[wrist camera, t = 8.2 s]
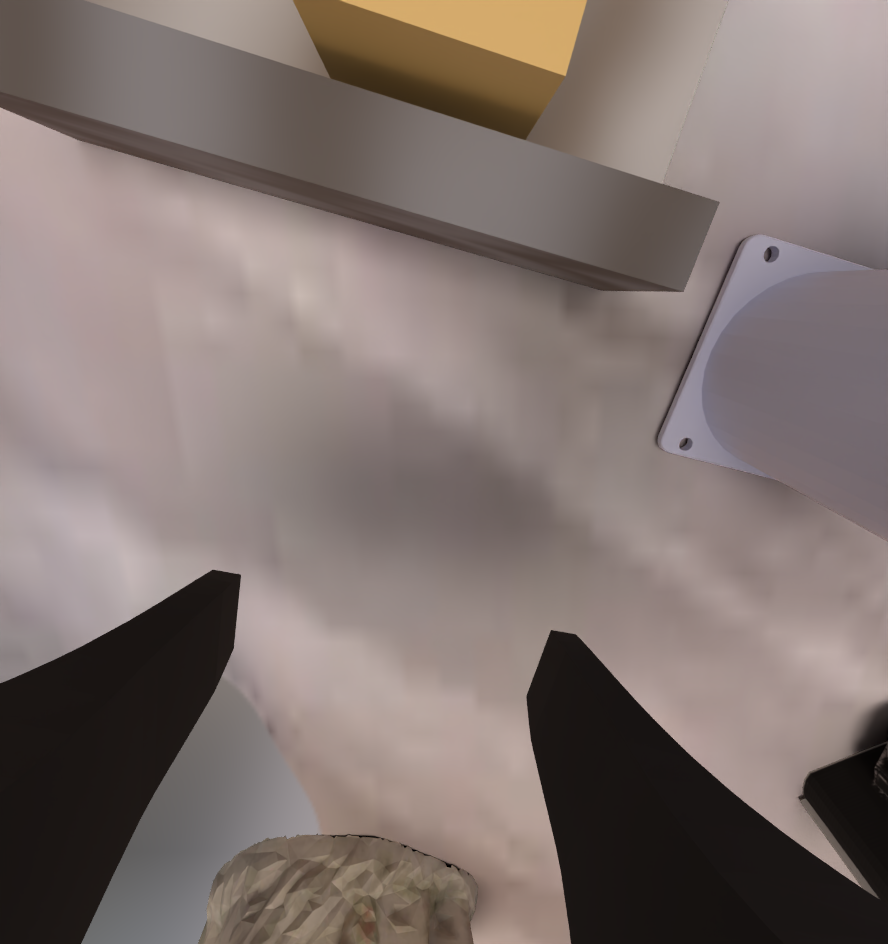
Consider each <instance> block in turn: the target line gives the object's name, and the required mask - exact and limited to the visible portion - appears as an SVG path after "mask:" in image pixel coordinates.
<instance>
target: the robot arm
mask: <svg viewBox="0 0 888 944" xmlns="http://www.w3.org/2000/svg"><path fill="white" fill-rule="evenodd" d="M768 247H769V248H770V249H771V252H772V255H771V258H770V259H769V261H767V262H766V261H765V260H764V252H765V251H766V249H767V248H768ZM684 438H687V439H688V441H687V444H686V445H685V446H684V447H682V448H680V447H679V443H680V441H681V440H682V439H684ZM657 441H658V445H659V447H660V448H661V449H663V450H664V451H666V452H668V453H671V454H675V455H679V456H683V457H687V458H691V459H695V460H699V461H703V462H707V463H711V464H715V465H719V466H723V467H727V468H731V469H735V470H739V471H743V472H747V473H751V474H755V475H759V476H763V477H766V478H770V479H774V480H778V481H780V482H782V483H783V484H785V485H787V486H789V487H791V488H792V489H794V490H796V491H798V492H800V493H801V494H803V495H805V496H807V497H809V498H810V499H812V500H814V501H816V502H818V503H819V504H821V505H823V506H825V507H827V508H828V509H830V510H832V511H834V512H836V513H837V514H839V515H841V516H843V517H845V518H846V519H848V520H850V521H852V522H854V523H855V524H857V525H859V526H861V527H863V528H864V529H866V530H868V531H870V532H872V533H873V534H875V535H877V536H879V537H881V538H882V539H884V540H886V541H888V269H879V270H876V269H872V268H869V267H866V266H863V265H860V264H856V263H853V262H850V261H847V260H844V259H840V258H837V257H834V256H831V255H828V254H824V253H821V252H818V251H815V250H812V249H808V248H805V247H802V246H799V245H796V244H793V243H789V242H786V241H783V240H780V239H777V238H773V237H770V236H767V235H762V234H757V235H752V236H750V237H747V238H746V239H745V240H744V241H743V242H742V243H741V245H740V246H739V248H738V251H737V253H736V255H735V258H734V260H733V262H732V265H731V267H730V269H729V272H728V274H727V276H726V279H725V281H724V283H723V286H722V288H721V290H720V293H719V295H718V297H717V300H716V302H715V304H714V307H713V309H712V311H711V314H710V316H709V318H708V321H707V323H706V326H705V328H704V330H703V333H702V335H701V337H700V340H699V342H698V344H697V347H696V349H695V351H694V354H693V356H692V358H691V361H690V363H689V365H688V368H687V370H686V372H685V375H684V377H683V379H682V382H681V384H680V386H679V389H678V391H677V393H676V396H675V398H674V400H673V403H672V405H671V407H670V410H669V412H668V414H667V417H666V419H665V421H664V424H663V426H662V428H661V431H660V433H659V435H658V440H657ZM240 579H241V575H240V574H234V573H228V572H223V571H217V570H212V571H210V572H208V573H207V574H205V575H203V576H202V577H200V578H198V579H197V580H195V581H194V582H192V583H190V584H189V585H187V586H186V587H184V588H182V589H181V590H179V591H178V592H176V593H174V594H173V595H171V596H169V597H168V598H166V599H165V600H163V601H161V602H160V603H158V604H156V605H155V606H153V607H151V608H150V609H148V610H146V611H145V612H143V613H141V614H140V615H138V616H136V617H135V618H133V619H131V620H130V621H128V622H126V623H124V624H122V625H120V626H119V627H117V628H115V629H113V630H111V631H109V632H108V633H106V634H104V635H102V636H100V637H98V638H96V639H95V640H93V641H91V642H89V643H87V644H85V645H84V646H82V647H80V648H78V649H76V650H74V651H72V652H69V653H67V654H65V655H63V656H61V657H59V658H57V659H55V660H53V661H51V662H48V663H46V664H44V665H42V666H40V667H37V668H35V669H33V670H31V671H28V672H26V673H24V674H22V675H19V676H17V677H15V678H12V679H10V680H8V681H5V682H3V683H0V944H81V943H82V940H83V938H84V936H85V934H86V932H87V930H88V928H89V926H90V923H91V921H92V919H93V917H94V915H95V913H96V911H97V908H98V906H99V904H100V902H101V900H102V898H103V895H104V893H105V891H106V889H107V887H108V885H109V883H110V881H111V878H112V876H113V874H114V872H115V870H116V868H117V866H118V864H119V862H120V860H121V858H122V856H123V854H124V852H125V850H126V847H127V845H128V843H129V841H130V839H131V837H132V835H133V833H134V831H135V829H136V827H137V825H138V823H139V821H140V819H141V817H142V815H143V813H144V811H145V809H146V808H147V805H148V804H149V802H150V800H151V798H152V797H153V795H154V793H155V791H156V790H157V788H158V786H159V785H160V783H161V781H162V779H163V778H164V776H165V774H166V773H167V771H168V769H169V767H170V766H171V764H172V762H173V761H174V759H175V758H176V756H177V754H178V753H179V751H180V749H181V748H182V746H183V744H184V742H185V740H186V739H187V738H188V736H189V734H190V732H191V731H192V729H193V727H194V725H195V724H196V722H197V721H198V719H199V717H200V715H201V714H202V712H203V710H204V709H205V707H206V705H207V704H208V702H209V700H210V698H211V697H212V695H213V693H214V691H215V689H216V687H217V685H218V683H219V681H220V678H221V676H222V674H223V672H224V669H225V667H226V665H227V663H228V660H229V658H230V656H231V653H232V651H233V649H234V640H235V630H236V620H237V609H238V599H239V589H240ZM527 707H528V718H529V727H530V735H531V742H532V746H533V751H534V755H535V760H536V764H537V768H538V773H539V777H540V781H541V785H542V790H543V794H544V798H545V802H546V806H547V811H548V815H549V819H550V823H551V827H552V832H553V836H554V840H555V844H556V849H557V854H558V859H559V864H560V869H561V875H562V882H563V888H564V895H565V902H566V909H567V916H568V923H569V930H570V938H571V944H888V904H886V903H885V902H883V901H882V900H880V899H878V898H877V897H875V896H874V895H872V894H870V893H869V892H867V891H866V890H864V889H863V888H861V887H860V886H858V885H857V884H855V883H854V882H852V881H851V880H849V879H848V878H846V877H845V876H843V875H842V874H841V873H839V872H838V871H836V870H835V869H833V868H832V867H830V866H829V865H828V864H826V863H825V862H823V861H822V860H820V859H819V858H818V857H816V856H815V855H813V854H812V853H810V852H809V851H808V850H806V849H805V848H804V847H802V846H801V845H799V844H798V843H797V842H795V841H794V840H793V839H791V838H790V837H789V836H787V835H786V834H784V833H783V832H782V831H780V830H779V829H778V828H777V827H775V826H774V825H773V824H772V823H770V822H769V821H768V820H766V819H765V818H764V817H763V816H761V815H760V814H759V813H757V812H756V811H755V810H754V809H752V808H751V807H750V806H749V805H747V804H746V803H745V802H744V801H742V800H741V799H740V798H739V797H737V796H736V795H735V794H734V793H733V792H731V791H730V790H729V789H728V788H727V787H725V786H724V785H723V784H722V783H721V782H720V781H719V780H718V779H716V778H715V777H714V776H713V775H712V774H711V773H710V772H708V771H707V770H706V769H705V768H704V767H703V766H702V765H701V764H699V763H698V762H697V761H696V760H695V759H694V758H693V757H692V756H691V755H690V754H688V753H687V752H686V751H685V750H684V749H683V748H682V747H681V746H680V745H679V744H678V743H677V742H676V741H675V740H674V739H673V738H672V737H671V736H670V735H669V734H668V733H667V732H666V731H665V730H664V729H663V728H662V727H661V726H660V725H659V724H658V723H657V722H656V721H655V720H654V719H653V718H652V717H651V716H650V715H649V714H648V713H647V712H646V711H645V710H644V709H643V708H642V706H641V705H640V704H639V703H638V702H637V701H636V700H635V699H634V698H633V697H632V696H631V695H630V694H629V692H628V691H627V690H626V689H625V688H624V687H623V686H622V685H621V684H620V682H619V681H618V680H617V679H616V678H615V677H614V676H613V675H612V674H611V672H610V671H609V670H608V669H607V668H606V667H605V666H604V665H603V663H602V662H601V661H600V660H599V659H598V658H597V657H596V656H595V654H594V653H593V652H592V651H591V650H590V649H589V648H588V647H587V646H586V645H585V643H584V642H583V641H582V640H581V639H580V638H579V637H578V636H577V635H576V634H570V633H565V632H559V631H553V630H551V632H550V634H549V637H548V640H547V642H546V645H545V648H544V650H543V653H542V656H541V659H540V661H539V664H538V667H537V669H536V672H535V675H534V677H533V680H532V683H531V685H530V688H529V691H528V694H527Z"/></svg>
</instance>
